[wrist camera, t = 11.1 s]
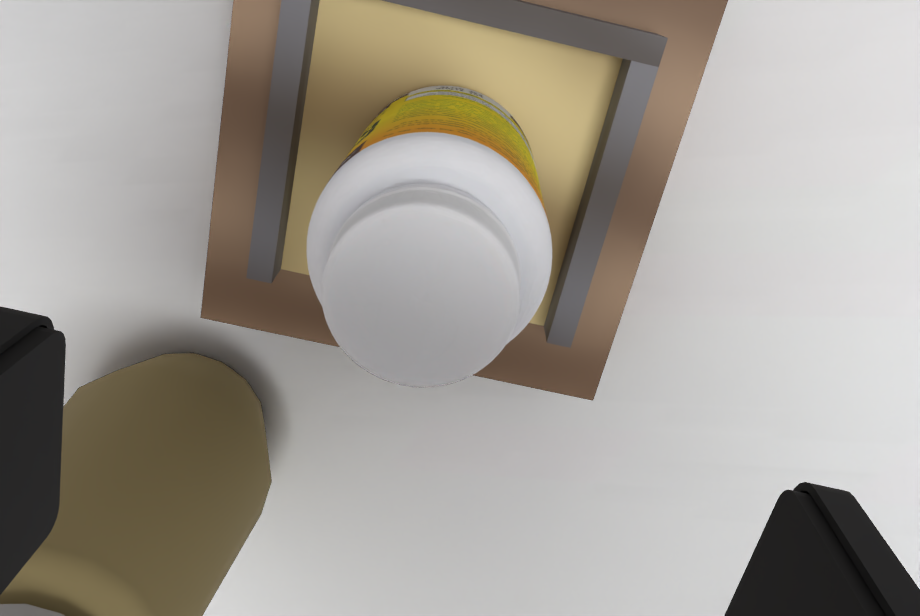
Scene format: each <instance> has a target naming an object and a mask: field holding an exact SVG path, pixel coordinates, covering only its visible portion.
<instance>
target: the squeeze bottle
mask: <svg viewBox="0 0 920 616" xmlns="http://www.w3.org/2000/svg"><path fill="white" fill-rule="evenodd" d="M271 481H272V480H271V472H270V464H269V456H268V448H267V440H266V431H265V424H264V419H263V413H262V407H261V402H260V401H259V399H258V398H257V396H256V394H255V393H254V391H253V390H252V388H251V387H250V385H249V384H248V382H247V381H246V379H244V378H243V377H242V376H240V375H239V374H238V373H236V372H235V371H234V370H232V369H231V368H230V367H228V366H227V365H225V364H224V363H223V362H220V361H217V360H214V359H211V358H208V357H205V356H202V355H198V354H195V353H177V354H163V355H160V356H157V357H154V358H151V359H149V360H146V361H143V362H140V363H137V364H134V365H131V366H129V367H126V368H123V369H120V370H117V371H115V372H112V373H110V374H108V375H106V376H104V377H101V378H99V379H97V380H95V381H92V382H90V383H88V384H86V385H84V386H81V387H79V388H78V390H77V391H76V392H75V393H74V395H73V396H72V397H71V398H70V399H69V401H68V402H67V403H66V404H65V406H64V407H63V425H62V451H61V477H60V503H59V511H58V515H57V519H56V521H55V524H54V526H53V528H52V530H51V532H50V534H49V535H48V537H47V538H46V539H45V540H44V542H43V543H42V544H41V545H40V547H39V548H38V549H37V550H36V552H35V553H34V554H33V555H32V557H31V558H30V559H29V560H28V562H27V563H26V564H25V565H24V566H23V568H22V569H21V570H20V571H19V573H18V574H17V575H16V576H15V578H14V579H13V580H12V581H11V583H10V584H9V585H8V586H7V588H6V589H5V590H4V591H3V592H2V594H1V595H0V616H202V615H203V614H204V612H205V610H206V608H207V607H208V605H209V603H210V602H211V600H212V598H213V596H214V595H215V593H216V591H217V589H218V588H219V586H220V584H221V583H222V581H223V579H224V577H225V576H226V574H227V572H228V570H229V569H230V567H231V565H232V564H233V562H234V560H235V558H236V557H237V555H238V553H239V551H240V550H241V548H242V546H243V544H244V543H245V541H246V539H247V538H248V536H249V534H250V532H251V531H252V529H253V527H254V525H255V524H256V522H257V520H258V519H259V517H260V515H261V513H262V510H263V507H264V504H265V500H266V497H267V494H268V491H269V488H270V485H271Z"/></svg>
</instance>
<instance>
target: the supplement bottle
mask: <svg viewBox="0 0 920 616" xmlns="http://www.w3.org/2000/svg"><path fill="white" fill-rule="evenodd" d="M307 263H308V270H309V275H310V279H311V282H312V285H313V288H314V291H315V293H316V295H317V297H318V300H319V302H320V304H321V305H322V307H323V312H324V315H325V319H326V322H327V324H328V327H329V329H330V331H331V333H332V335H333V337H334V339H335V340H336V342H337V343H338V345H339V346H340V347H341V349H342V350H343V351H344V352H345V353H346V354H347V355H348V356H349V357H350V358H351V359H352V360H353V361H354V362H355V363H356V364H358V365H359V366H360V367H362V368H363V369H364V370H366V371H368V372H369V373H371V374H373V375H375V376H377V377H379V378H381V379H383V380H386V381H389V382H392V383H396V384H399V385H405V386H411V387H435V386H442V385H448V384H451V383H455V382H458V381H460V380H463V379H465V378H467V377H469V376H471V375H473V374H475V373H477V372H478V371H480V370H481V369H483V368H484V367H485V366H487V365H488V364H489V363H490V362H492V361H493V359H494V358H495V357H496V356H497V355H498V354H499V353H500V352H501V351H502V350H503V348H504V347H505V345H506V344H508V343H509V342H510V341H511V340H512V339H514V338H515V337H516V336H517V335H518V334H519V333H520V332H521V331H522V330H523V329H524V328H525V327H526V326H527V324H528V323H529V322H530V320H531V319H532V317H533V316H534V315H535V313H536V311H537V309H538V308H539V306H540V304H541V302H542V300H543V297H544V295H545V292H546V290H547V286H548V283H549V278H550V274H551V267H552V240H551V233H550V228H549V223H548V218H547V214H546V210H545V206H544V202H543V198H542V193H541V189H540V184H539V180H538V175H537V171H536V166H535V162H534V158H533V154H532V151H531V148H530V145H529V142H528V140H527V138H526V136H525V134H524V132H523V130H522V129H521V127H520V126H519V124H518V123H517V121H516V120H515V119H514V118H513V116H512V115H511V114H510V113H509V112H508V111H507V110H506V109H505V108H503V107H502V106H501V105H500V104H498V103H497V102H495V101H494V100H493V99H491V98H489V97H487V96H485V95H483V94H481V93H479V92H476V91H473V90H470V89H467V88H462V87H457V86H443V85H442V86H430V87H425V88H421V89H418V90H415V91H412V92H409V93H407V94H405V95H403V96H401V97H399V98H397V99H396V100H394V101H393V102H391V103H390V104H388V105H387V106H386V107H385V108H384V109H383V110H382V111H381V112H380V113H379V114H378V115H377V116H376V117H375V118H374V119H373V120H372V122H371V123H370V124H369V126H368V127H367V128H366V129H365V131H364V132H363V134H362V135H361V137H360V138H359V140H358V141H357V142H356V144H355V145H354V146H353V148H352V149H351V151H350V152H349V153H348V155H347V156H346V158H345V159H344V161H343V162H342V163H341V165H340V166H339V167H338V169H337V170H336V171H335V173H334V174H333V175H332V177H331V178H330V180H329V181H328V183H327V184H326V186H325V188H324V189H323V191H322V193H321V195H320V197H319V199H318V201H317V203H316V205H315V208H314V210H313V213H312V216H311V220H310V223H309V227H308V235H307Z"/></svg>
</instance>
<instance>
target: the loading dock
mask: <svg viewBox="0 0 920 616" xmlns="http://www.w3.org/2000/svg"><path fill="white" fill-rule="evenodd" d="M727 2H728V0H234V1H233V11H232V20H231V30H230V39H229V49H228V59H227V68H226V78H225V88H224V97H223V107H222V117H221V126H220V136H219V146H218V155H217V165H216V175H215V184H214V194H213V203H212V213H211V223H210V232H209V242H208V252H207V261H206V271H205V281H204V290H203V300H202V310H201V318H204V319H209V320H214V321H219V322H223V323H228V324H233V325H238V326H242V327H247V328H252V329H256V330H261V331H266V332H271V333H275V334H280V335H285V336H290V337H294V338H299V339H304V340H309V341H313V342H318V343H323V344H328V345H332V346H337V347H340V346H339V345H338V343H337V342H336V340H335V339H334V337H333V335H332V333H331V331H330V329H329V327H328V324H327V322H326V319H325V315H324V312H323V307H322V305H321V304H320V302H319V300H318V297H317V295H316V293H315V291H314V288H313V285H312V282H311V279H310V275H309V270H308V263H307V235H308V227H309V223H310V220H311V216H312V213H313V210H314V208H315V205H316V203H317V201H318V199H319V197H320V195H321V193H322V191H323V189H324V188H325V186H326V184H327V183H328V181H329V180H330V178H331V177H332V175H333V174H334V173H335V171H336V170H337V169H338V167H339V166H340V165H341V163H342V162H343V161H344V159H345V158H346V156H347V155H348V153H349V152H350V151H351V149H352V148H353V146H354V145H355V144H356V142H357V141H358V140H359V138H360V137H361V135H362V134H363V132H364V131H365V129H366V128H367V127H368V126H369V124H370V123H371V122H372V120H373V119H374V118H375V117H376V116H377V115H378V114H379V113H380V112H381V111H382V110H383V109H384V108H385V107H386V106H387V105H388V104H390V103H391V102H393V101H394V100H396V99H397V98H399V97H401V96H403V95H405V94H407V93H409V92H412V91H415V90H418V89H421V88H425V87H430V86H442V85H443V86H457V87H462V88H467V89H470V90H473V91H476V92H479V93H481V94H483V95H485V96H487V97H489V98H491V99H493V100H494V101H495V102H497V103H498V104H500V105H501V106H502V107H503V108H505V109H506V110H507V111H508V112H509V113H510V114H511V115H512V116H513V118H514V119H515V120H516V121H517V123H518V124H519V126H520V127H521V129H522V130H523V132H524V134H525V136H526V138H527V140H528V142H529V145H530V148H531V151H532V154H533V158H534V162H535V166H536V171H537V175H538V180H539V184H540V189H541V193H542V198H543V202H544V206H545V210H546V214H547V218H548V223H549V228H550V233H551V240H552V267H551V274H550V278H549V283H548V286H547V290H546V292H545V295H544V297H543V300H542V302H541V304H540V306H539V308H538V309H537V311H536V313H535V315H534V316H533V317H532V319H531V320H530V322H529V323H528V324H527V326H526V327H525V328H524V329H523V330H522V331H521V332H520V333H519V334H518V335H517V336H516V337H515V338H514V339H512V340H511V341H510V342H509V343H508V344H506V345H505V347H504V348H503V350H502V351H501V352H500V353H499V354H498V355H497V356H496V357H495V358H494V359H493V361H492V362H490V363H489V364H488V365H487V366H485V367H484V368H483V369H481V370H480V371H478V372H477V373H475V374H473V375H475V376H479V377H484V378H489V379H494V380H498V381H503V382H508V383H512V384H517V385H522V386H527V387H531V388H536V389H541V390H546V391H550V392H555V393H560V394H565V395H569V396H574V397H579V398H584V399H588V400H593V399H594V396H595V393H596V390H597V387H598V384H599V381H600V378H601V375H602V372H603V369H604V366H605V363H606V360H607V357H608V354H609V351H610V349H611V346H612V343H613V340H614V337H615V334H616V331H617V328H618V325H619V322H620V319H621V316H622V313H623V310H624V307H625V304H626V301H627V298H628V295H629V292H630V289H631V286H632V283H633V280H634V277H635V274H636V271H637V268H638V266H639V263H640V260H641V257H642V254H643V251H644V248H645V245H646V242H647V239H648V236H649V233H650V230H651V227H652V224H653V221H654V218H655V215H656V212H657V209H658V206H659V203H660V200H661V197H662V194H663V191H664V188H665V185H666V183H667V180H668V177H669V174H670V171H671V168H672V165H673V162H674V159H675V156H676V153H677V150H678V147H679V144H680V141H681V138H682V135H683V132H684V129H685V126H686V123H687V120H688V117H689V114H690V111H691V108H692V105H693V102H694V100H695V97H696V94H697V91H698V88H699V85H700V82H701V79H702V76H703V73H704V70H705V67H706V64H707V61H708V58H709V55H710V52H711V49H712V46H713V43H714V40H715V37H716V34H717V31H718V28H719V25H720V22H721V19H722V17H723V14H724V11H725V8H726V5H727Z"/></svg>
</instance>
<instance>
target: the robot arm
mask: <svg viewBox="0 0 920 616" xmlns="http://www.w3.org/2000/svg"><path fill="white" fill-rule="evenodd" d="M65 347H66V344H65V337H64V334H63V333H62V332H61V331H56V330H54V327H53V324H52V321H51V320H50V319H49V318H48V317H46V316H42V315H37V314H32V313H28V312H23V311H19V310H14V309H9V308H5V307H0V595H1V594H2V592H3V591H4V590H5V589H6V588H7V586H8V585H9V584H10V583H11V581H12V580H13V579H14V578H15V576H16V575H17V574H18V573H19V571H20V570H21V569H22V568H23V566H24V565H25V564H26V563H27V562H28V560H29V559H30V558H31V557H32V555H33V554H34V553H35V552H36V550H37V549H38V548H39V547H40V545H41V544H42V543H43V542H44V540H45V539H46V538H47V537H48V535H49V534H50V532H51V530H52V528H53V526H54V524H55V521H56V519H57V515H58V511H59V503H60V477H61V451H62V425H63V399H64V373H65ZM725 616H920V589H919V588H918V587H917V585H916V584H915V582H914V581H913V580H912V578H911V577H910V575H909V574H908V572H907V571H906V570H905V568H904V567H903V565H902V564H901V563H900V561H899V560H898V558H897V557H896V555H895V554H894V553H893V551H892V550H891V548H890V547H889V546H888V544H887V543H886V541H885V540H884V538H883V537H882V536H881V534H880V533H879V531H878V530H877V529H876V527H875V526H874V524H873V523H872V521H871V520H870V519H869V517H868V516H867V514H866V513H865V512H864V510H863V509H862V507H861V506H860V504H859V503H858V502H857V500H856V499H855V497H854V496H853V495H852V494H851V493H850V492H847V491H844V490H839V489H834V488H830V487H825V486H821V485H816V484H812V483H807V482H803V483H800V484H799V485H798V486H796V487H795V488H794V490H793V491H792V490H786V491H784V492H783V493H782V494H781V495H780V497H779V498H778V500H777V502H776V504H775V507H774V509H773V511H772V513H771V515H770V517H769V520H768V522H767V524H766V526H765V528H764V531H763V533H762V535H761V537H760V539H759V541H758V544H757V546H756V548H755V550H754V552H753V555H752V557H751V559H750V561H749V563H748V565H747V568H746V570H745V572H744V574H743V576H742V579H741V581H740V583H739V585H738V587H737V589H736V592H735V594H734V596H733V598H732V600H731V603H730V605H729V607H728V609H727V611H726V613H725Z"/></svg>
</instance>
